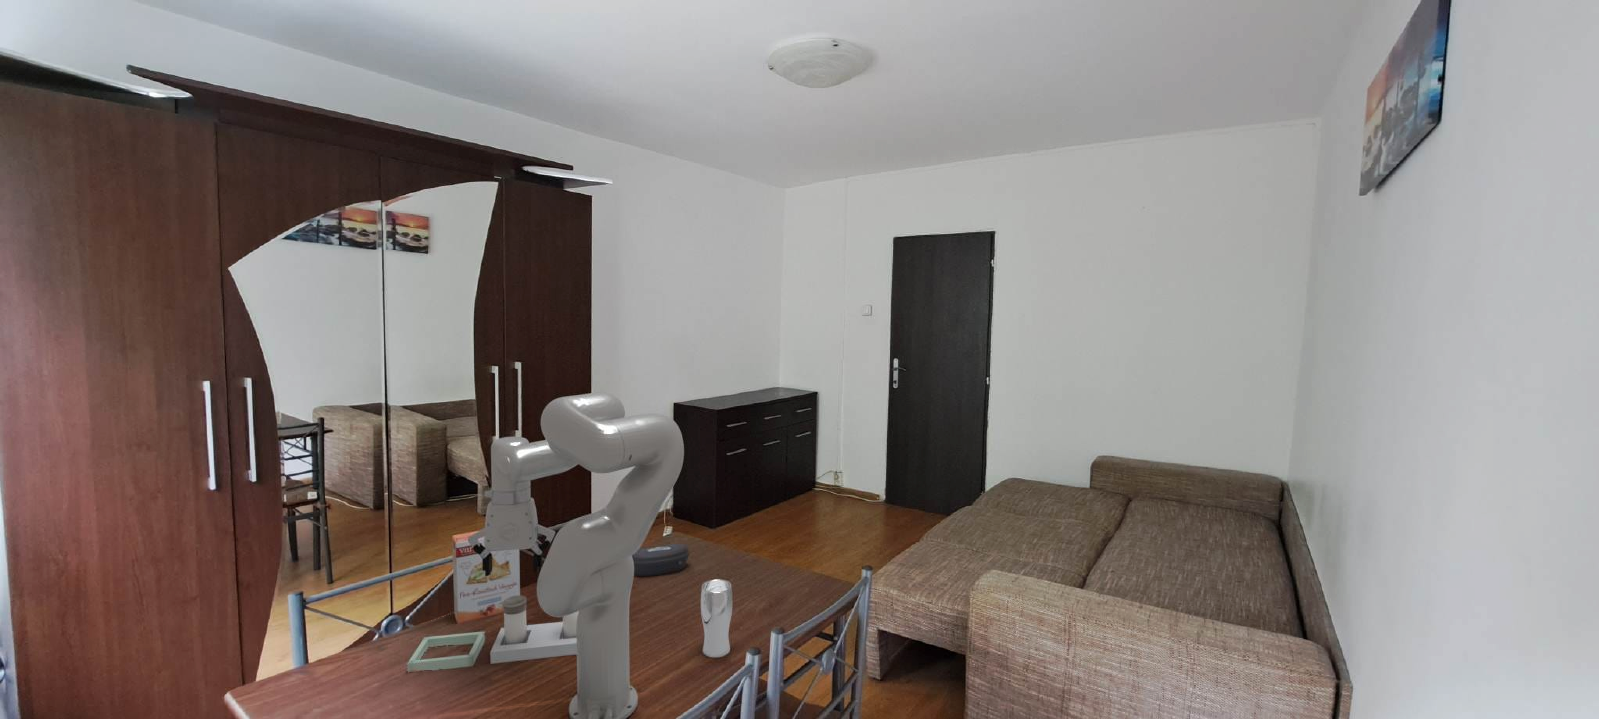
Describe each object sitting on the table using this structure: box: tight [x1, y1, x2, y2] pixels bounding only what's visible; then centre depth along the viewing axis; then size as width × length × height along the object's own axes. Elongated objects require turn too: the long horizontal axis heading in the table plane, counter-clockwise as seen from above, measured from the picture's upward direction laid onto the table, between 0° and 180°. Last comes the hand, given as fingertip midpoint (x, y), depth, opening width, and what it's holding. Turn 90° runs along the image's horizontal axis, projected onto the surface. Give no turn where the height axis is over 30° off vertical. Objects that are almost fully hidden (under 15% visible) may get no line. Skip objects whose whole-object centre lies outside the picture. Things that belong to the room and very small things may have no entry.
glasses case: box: [632, 543, 691, 577], centre depth 180 cm, size 18×10×8 cm, turn 113°
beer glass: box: [700, 578, 733, 659], centre depth 139 cm, size 7×7×15 cm
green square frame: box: [406, 631, 486, 671], centre depth 134 cm, size 10×12×3 cm
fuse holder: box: [489, 621, 577, 665], centre depth 138 cm, size 10×20×4 cm, turn 104°
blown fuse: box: [502, 595, 527, 645], centre depth 136 cm, size 5×5×11 cm
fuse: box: [562, 611, 579, 639], centre depth 139 cm, size 5×5×11 cm
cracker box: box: [451, 530, 521, 625], centre depth 152 cm, size 14×6×21 cm, turn 126°
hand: (513, 571), depth 135 cm, fingers open, 9 cm apart
